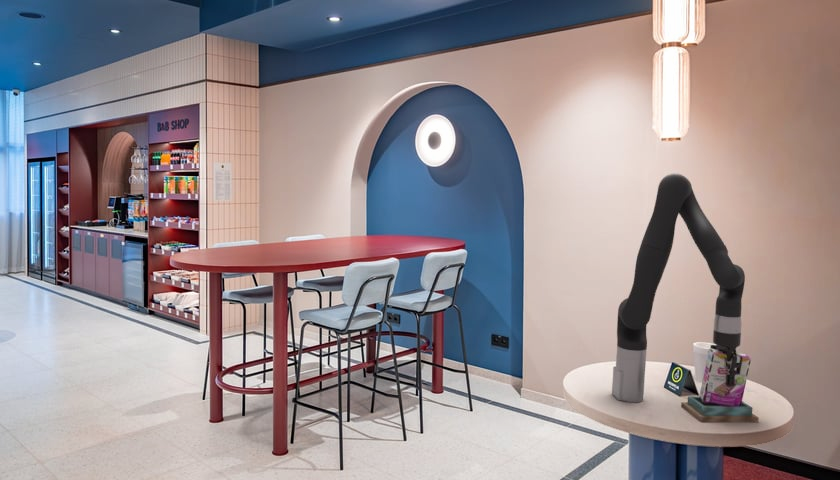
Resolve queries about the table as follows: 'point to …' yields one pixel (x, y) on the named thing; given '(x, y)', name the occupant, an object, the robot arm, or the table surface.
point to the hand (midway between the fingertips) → (724, 382)
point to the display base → (718, 411)
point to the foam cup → (700, 358)
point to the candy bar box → (722, 380)
